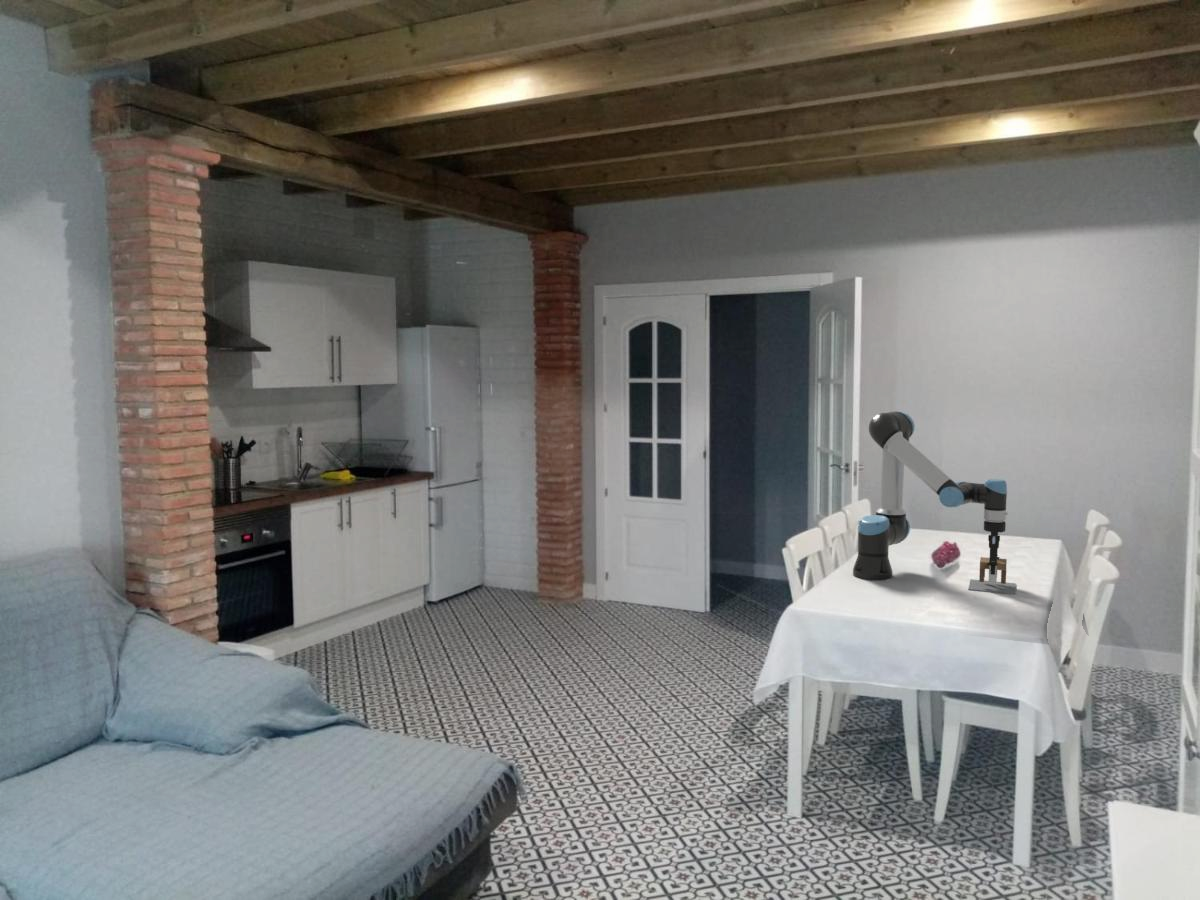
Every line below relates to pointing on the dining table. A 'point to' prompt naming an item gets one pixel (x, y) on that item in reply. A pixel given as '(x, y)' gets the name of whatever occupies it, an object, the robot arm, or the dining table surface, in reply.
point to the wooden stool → (1000, 566)
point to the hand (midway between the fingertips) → (992, 579)
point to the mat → (992, 587)
